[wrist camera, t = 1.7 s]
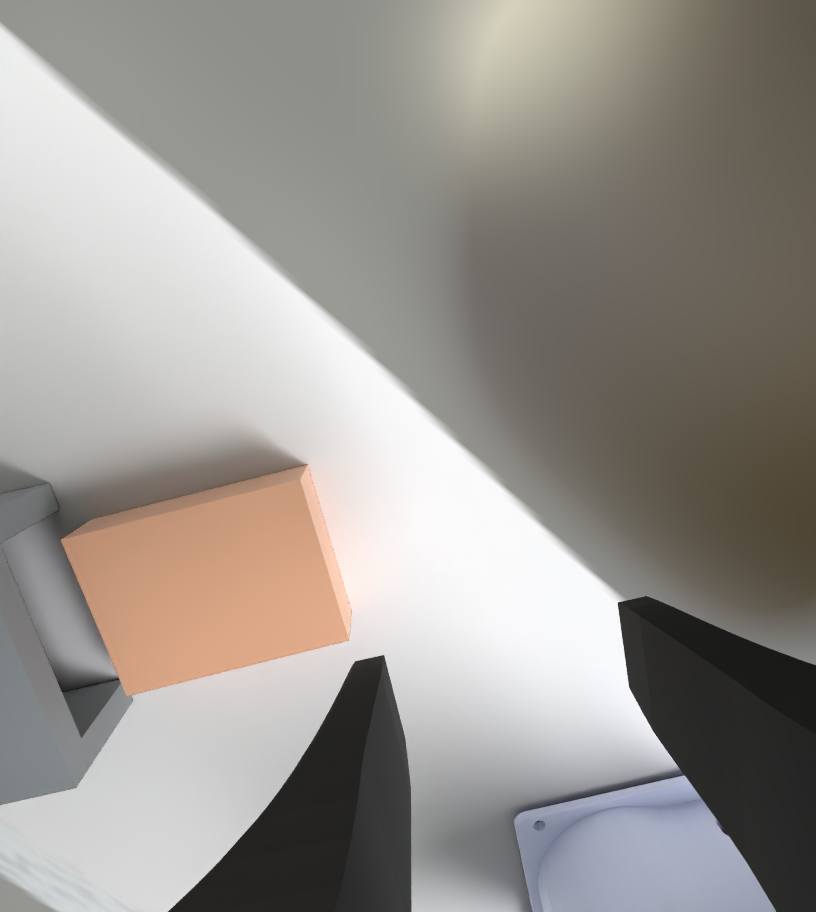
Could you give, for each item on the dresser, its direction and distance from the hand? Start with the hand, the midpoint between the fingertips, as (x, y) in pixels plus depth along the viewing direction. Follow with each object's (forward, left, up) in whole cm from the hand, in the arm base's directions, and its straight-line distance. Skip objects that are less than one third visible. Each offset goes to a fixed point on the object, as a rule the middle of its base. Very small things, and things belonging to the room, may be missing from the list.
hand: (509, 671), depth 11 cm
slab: (+9, 0, -10) cm, 13 cm away
